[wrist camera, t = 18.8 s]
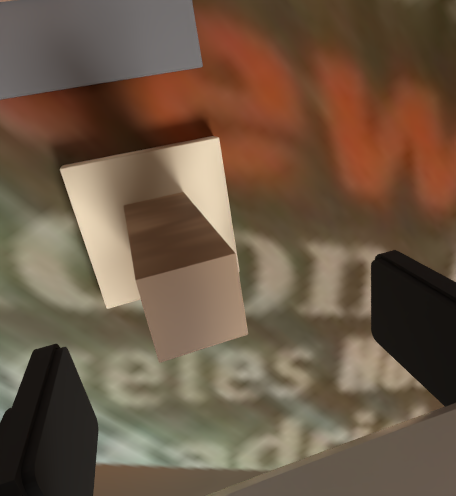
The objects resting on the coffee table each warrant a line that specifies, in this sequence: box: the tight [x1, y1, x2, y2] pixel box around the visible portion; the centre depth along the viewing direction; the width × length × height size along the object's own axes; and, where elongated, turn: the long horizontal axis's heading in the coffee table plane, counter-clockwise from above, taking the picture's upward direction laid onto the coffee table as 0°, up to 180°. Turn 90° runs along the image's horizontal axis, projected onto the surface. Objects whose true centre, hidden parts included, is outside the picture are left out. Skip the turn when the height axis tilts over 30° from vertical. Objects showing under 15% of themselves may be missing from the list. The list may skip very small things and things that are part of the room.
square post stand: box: [60, 136, 248, 363], centre depth 17 cm, size 8×8×10 cm
